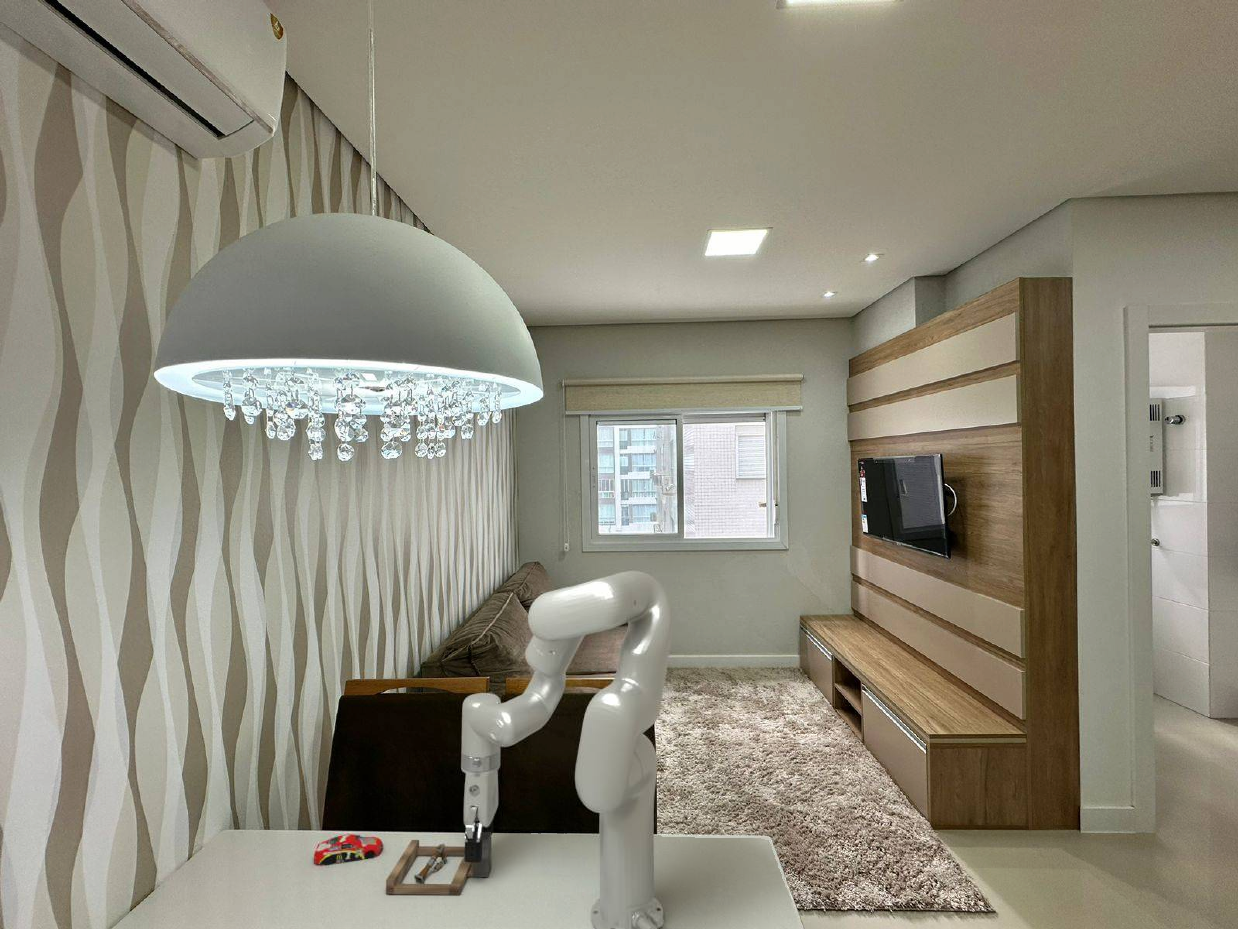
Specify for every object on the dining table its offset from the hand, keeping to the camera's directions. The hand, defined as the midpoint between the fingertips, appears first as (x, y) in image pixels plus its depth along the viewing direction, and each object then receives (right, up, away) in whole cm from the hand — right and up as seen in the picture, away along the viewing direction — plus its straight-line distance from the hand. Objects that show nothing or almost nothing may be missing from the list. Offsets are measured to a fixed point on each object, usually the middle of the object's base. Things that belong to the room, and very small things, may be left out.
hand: (479, 847), depth 133 cm
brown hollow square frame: (-7, -5, 0) cm, 8 cm away
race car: (-28, -6, +6) cm, 29 cm away
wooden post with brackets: (-9, -5, 0) cm, 11 cm away
